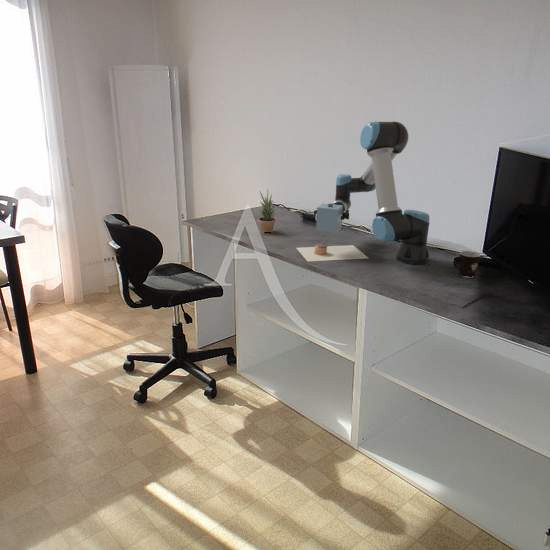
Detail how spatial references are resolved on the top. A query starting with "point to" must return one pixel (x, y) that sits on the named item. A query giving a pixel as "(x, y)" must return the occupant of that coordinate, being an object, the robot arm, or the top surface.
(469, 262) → the coffee mug
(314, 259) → the mat
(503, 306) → the top surface
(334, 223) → the box cover
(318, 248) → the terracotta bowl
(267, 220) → the potted plant
